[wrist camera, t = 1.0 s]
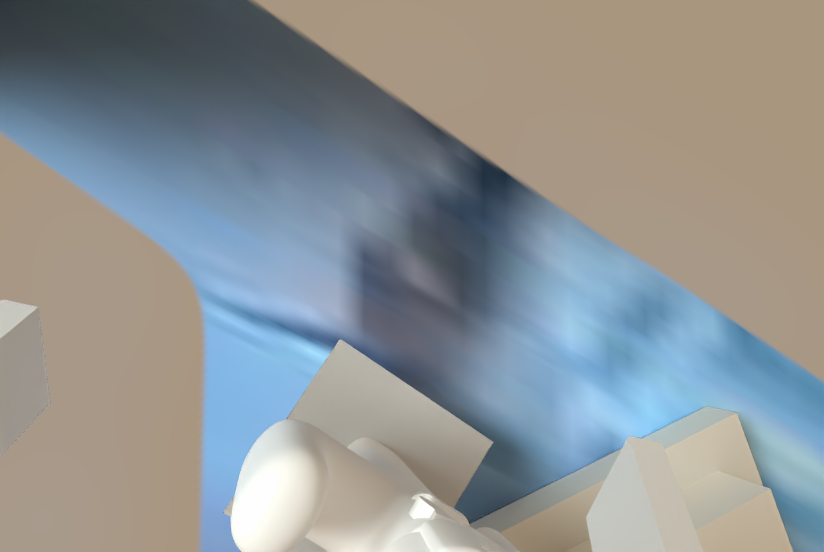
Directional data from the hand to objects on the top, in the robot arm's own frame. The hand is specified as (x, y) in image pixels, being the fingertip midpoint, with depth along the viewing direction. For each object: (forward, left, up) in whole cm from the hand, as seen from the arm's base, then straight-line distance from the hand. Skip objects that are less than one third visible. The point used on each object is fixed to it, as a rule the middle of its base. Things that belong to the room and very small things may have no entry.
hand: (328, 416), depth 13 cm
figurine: (+4, +1, -13) cm, 13 cm away
